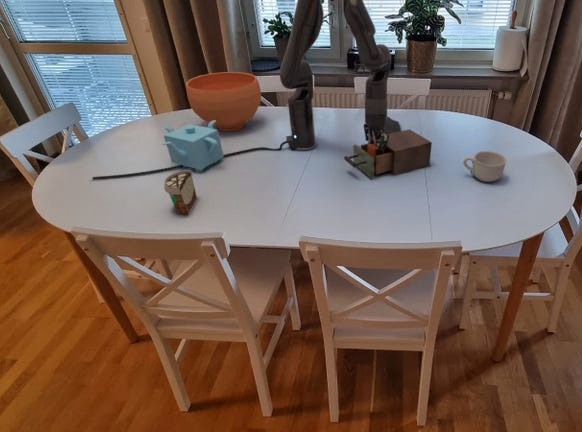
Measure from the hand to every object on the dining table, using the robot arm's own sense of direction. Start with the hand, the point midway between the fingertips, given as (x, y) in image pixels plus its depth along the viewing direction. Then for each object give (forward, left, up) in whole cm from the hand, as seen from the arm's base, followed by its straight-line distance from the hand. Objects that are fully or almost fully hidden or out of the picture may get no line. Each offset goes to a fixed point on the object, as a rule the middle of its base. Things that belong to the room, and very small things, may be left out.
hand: (375, 156), depth 141 cm
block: (0, 0, 0) cm, 0 cm away
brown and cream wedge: (-65, -10, -6) cm, 66 cm away
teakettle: (-64, +21, -6) cm, 68 cm away
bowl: (-53, +57, -6) cm, 78 cm away
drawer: (-1, 0, -4) cm, 5 cm away
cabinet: (+11, +3, -5) cm, 13 cm away
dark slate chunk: (+13, +34, -6) cm, 37 cm away
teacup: (+35, -15, -6) cm, 38 cm away
